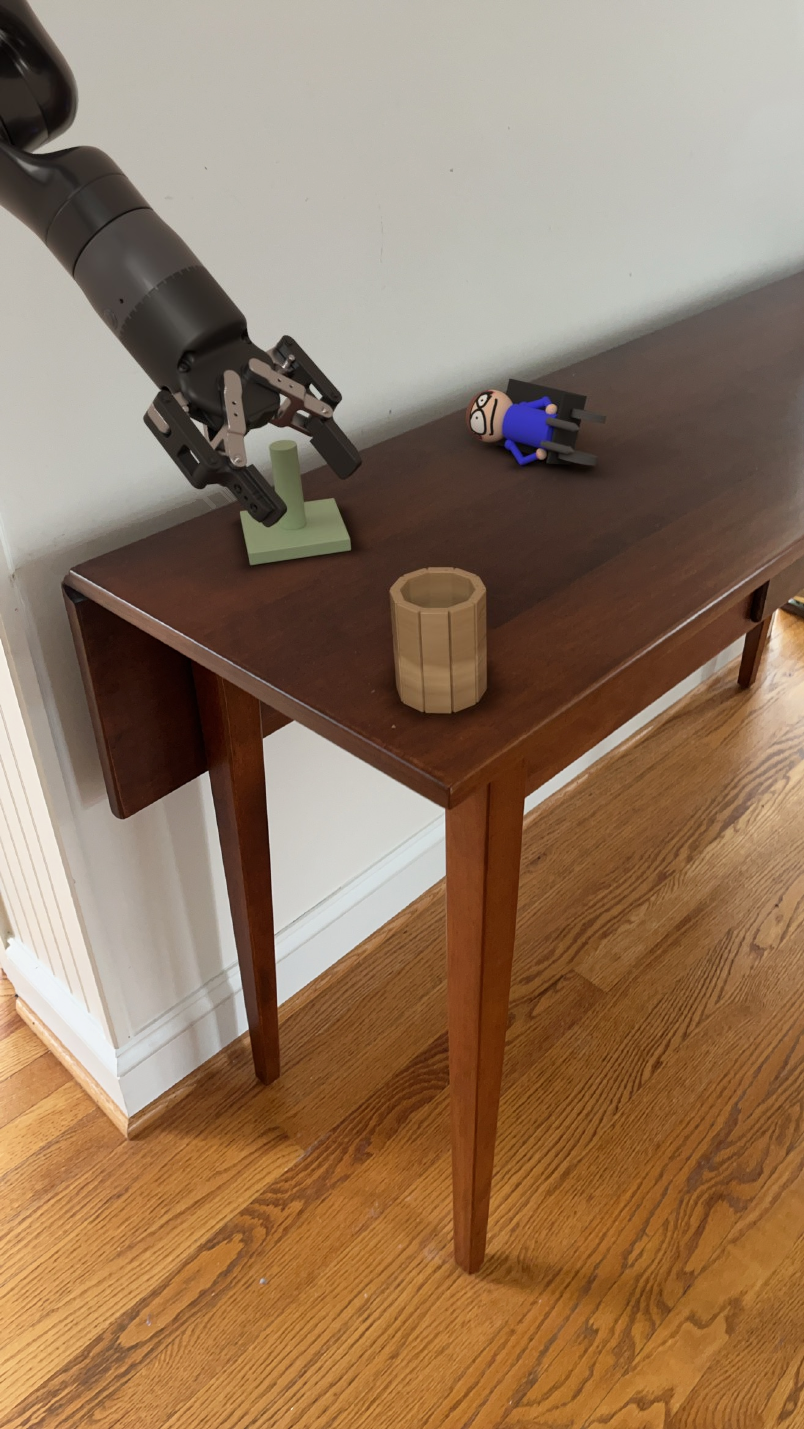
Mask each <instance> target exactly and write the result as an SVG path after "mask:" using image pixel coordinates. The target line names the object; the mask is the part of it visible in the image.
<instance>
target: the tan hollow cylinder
mask: <svg viewBox="0 0 804 1429" xmlns="http://www.w3.org/2000/svg"><path fill="white" fill-rule="evenodd" d="M389 602H390V618H391V631H392V632H391V633H392V644H393V659H394V672H395V673H394V674H395V686H396V690H397V693H398V696H399V698H400V701H401V702H402V703H403V704H404V705H406V706H408V707H410V708H412V709H415V710H417V711H418V712H420V713H424V712H425V714H452V712H453V713H457V712H460V711H462V710H465V709H468V708H470V707H473V706H475V705H477V703H479V702H480V700H481V699H482V697H483V696H484V694H485V692H486V691H487V690H488V662H487V660H488V659H487V658H488V657H487V656H488V655H487V653H488V651H487V587H486V585H485V584H484V582H483V580H482V579H481V577H480V576H479V575H477V574H475V573H473V572H471V571H467V570H464V569H461V568H459V567H456V568H454V567H453V566H450V567H449V566H446V567H445V566H444V567H443V566H437V567H435V566H434V567H433V566H432V567H431V566H429V567H427V568H426V567H424V568H419V569H417V570H414V571H411V572H408V573H405V574H403V575H402V576H399V578H397V580H396V581H395V582H394V583H393V584H392V586H390V588H389Z"/></svg>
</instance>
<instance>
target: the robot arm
mask: <svg viewBox="0 0 804 1429" xmlns="http://www.w3.org/2000/svg"><path fill="white" fill-rule="evenodd" d="M79 98H80V97H79V87H78V84H77V79H76V77H75V75H74V72H73V70H72V68H71V66H70V64H69V63H68V61H67V59H66V58H65V56H64V54H63V53H62V52H61V50H60V48H59V47H58V46H57V44H56V42H55V40H53V38H52V37H51V35H50V34H49V33H48V31H47V29H46V28H45V27H44V25H43V24H42V22H41V21H40V20H39V18H38V16H37V14H36V12H35V10H33V9H32V6H31V5H30V3H29V1H28V0H0V206H1V207H2V208H3V209H5V210H6V211H7V212H9V213H10V214H11V215H12V216H14V217H15V218H16V219H17V220H18V221H20V222H21V223H22V224H23V225H24V226H25V227H27V228H28V229H29V230H30V231H31V232H33V233H34V234H35V236H36V237H37V238H38V239H39V240H40V241H41V242H42V243H43V244H44V246H45V247H46V248H47V250H49V252H50V253H51V254H52V255H53V257H54V258H55V259H56V260H57V261H58V262H59V264H60V265H61V266H62V267H63V269H64V270H65V271H66V272H67V273H68V275H69V276H70V277H71V278H72V280H73V281H74V282H75V283H76V284H77V286H78V287H79V289H80V290H81V291H82V293H83V295H84V296H85V298H86V299H87V301H88V303H89V304H90V305H91V308H93V310H94V312H95V313H96V314H97V316H98V317H99V318H100V319H101V321H102V322H103V323H104V324H105V326H106V327H107V328H108V329H109V330H110V332H111V333H112V334H113V335H114V336H115V338H116V339H117V341H119V342H120V344H121V345H122V347H124V348H125V350H126V351H127V352H128V353H129V354H130V356H131V357H132V358H133V360H134V361H135V362H136V363H137V365H138V366H139V367H140V368H141V369H142V370H143V372H144V373H145V374H146V375H147V376H148V378H149V379H150V380H151V381H152V382H153V384H154V385H155V386H156V388H158V390H159V391H158V392H157V394H156V395H155V396H154V399H153V400H152V401H151V403H150V405H149V406H148V408H147V410H146V412H145V413H144V415H143V417H142V420H143V423H144V424H145V426H146V427H147V428H148V429H149V431H150V432H151V434H152V435H153V437H154V438H155V439H156V440H157V441H158V443H159V444H160V446H161V447H162V449H163V450H164V451H165V452H166V453H167V455H168V456H169V457H170V460H172V461H173V463H174V464H175V466H176V467H177V468H178V469H179V471H181V473H182V475H183V476H184V477H185V479H186V480H187V481H188V483H189V484H190V485H191V487H193V488H194V489H197V490H204V489H206V487H207V486H209V485H211V486H212V485H219V486H220V487H222V488H223V487H224V488H227V489H228V490H229V492H230V493H231V494H232V495H233V496H234V497H235V499H236V500H237V501H238V502H239V504H240V505H241V506H242V507H243V509H244V510H245V511H248V513H249V514H250V515H251V517H252V518H253V519H255V520H256V521H257V522H259V523H262V524H263V525H264V526H265V527H268V528H269V527H271V526H273V525H274V524H276V523H277V522H278V521H279V520H280V519H281V518H282V517H283V516H284V515H285V513H286V512H287V506H286V504H285V502H284V501H283V500H282V499H281V498H280V496H279V495H278V494H277V493H276V491H275V488H274V487H273V486H272V485H271V484H270V483H269V481H268V480H267V479H266V478H265V476H264V475H263V474H262V473H261V472H260V471H259V470H258V468H257V467H256V466H255V465H254V464H253V463H251V464H249V465H248V466H247V463H248V459H247V452H246V446H245V437H246V436H247V435H248V434H249V432H250V431H252V430H257V429H262V428H263V427H265V426H267V425H268V424H270V425H272V426H275V427H276V428H281V429H284V428H291V429H293V430H294V431H297V432H299V433H301V434H302V435H304V436H307V437H309V438H311V439H309V443H310V445H312V446H313V448H314V449H315V450H316V451H317V452H318V454H319V455H320V457H322V459H323V460H324V461H325V462H326V464H327V465H328V466H329V468H330V469H331V470H332V471H333V473H334V474H335V475H336V476H337V477H338V478H339V479H340V480H346V479H348V478H350V477H351V476H352V475H353V474H354V473H356V472H357V470H358V469H359V468H360V467H361V466H362V464H363V459H362V457H361V455H360V452H359V450H358V448H357V447H356V446H355V445H354V443H352V441H351V439H349V437H348V436H347V435H346V433H345V432H344V431H343V429H342V428H341V427H340V426H339V424H337V422H336V421H335V419H334V412H335V410H336V409H337V407H338V405H339V404H340V403H341V402H342V400H343V395H342V393H341V392H340V390H339V389H338V388H337V387H336V386H335V385H334V383H333V382H331V380H330V379H329V378H328V377H327V375H326V374H325V373H324V372H323V371H322V370H321V368H320V367H319V366H318V365H317V364H316V362H314V360H313V359H312V358H311V357H310V355H308V353H307V352H306V351H305V350H304V349H303V348H302V347H301V346H300V344H299V343H298V342H297V341H296V340H295V339H294V337H292V336H291V335H289V334H283V336H281V338H280V339H279V341H278V342H276V344H275V345H274V346H273V347H271V348H270V349H268V350H266V351H265V350H264V349H262V348H260V347H259V346H258V345H256V344H255V343H254V342H253V341H252V339H251V338H250V335H249V331H248V321H247V318H246V316H245V314H244V313H243V312H242V311H241V309H240V308H239V307H238V306H237V304H236V303H235V302H234V300H232V298H231V297H230V296H229V294H228V293H227V292H226V291H225V289H224V288H223V287H222V286H221V285H220V283H219V282H218V281H217V280H216V279H215V277H214V276H213V275H212V273H211V272H210V271H209V270H208V268H207V267H206V266H205V265H204V263H202V261H201V260H200V258H198V256H197V255H196V253H194V251H193V250H192V248H190V246H189V245H188V244H187V242H186V241H184V239H183V238H182V237H181V235H179V234H178V233H177V231H175V230H174V229H173V228H172V227H171V226H170V225H169V224H168V223H167V222H166V221H164V219H162V218H161V216H160V215H159V214H158V213H157V212H156V211H155V210H154V208H153V207H152V205H150V203H149V202H148V201H147V199H146V198H145V197H144V195H143V194H141V192H140V191H139V190H138V188H137V187H136V185H135V184H133V182H132V181H131V180H130V178H129V177H128V176H127V175H126V173H125V172H124V171H123V169H122V168H121V167H120V166H119V165H118V164H117V163H116V161H115V160H114V159H113V158H112V157H111V156H110V155H109V154H108V153H107V152H105V151H104V150H102V149H100V148H99V147H96V146H93V145H76V146H72V147H67V148H62V149H60V150H54V151H51V152H44V153H35V152H36V151H38V150H40V149H42V148H43V147H44V146H47V145H48V144H50V143H51V142H53V141H55V140H56V139H58V138H60V137H61V136H62V135H64V134H66V133H67V132H68V130H70V128H71V127H72V126H73V124H74V123H75V120H76V117H77V114H78V110H79V100H80V99H79ZM311 385H312V386H313V387H314V388H315V389H316V391H317V392H318V393H319V394H320V396H321V397H320V398H318V397H317V396H316V395H315V393H314V392H312V390H311V388H310V386H311ZM281 396H284V397H285V400H284V401H283V402H282V404H281V401H282V400H281ZM300 411H303V412H304V413H306V414H308V416H305V414H302V413H299V412H300ZM193 420H194V421H196V422H198V423H200V424H202V428H203V429H202V430H203V432H201V430H200V429H199V428H198V426H197V425H196V424H195V422H194V421H193Z"/></svg>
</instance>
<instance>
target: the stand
mask: <svg viewBox="0 0 804 1429" xmlns="http://www.w3.org/2000/svg"><path fill="white" fill-rule="evenodd" d="M268 449H269V450H268V451H269V456H270V461H271V463H270V464H271V471H272V479H273V483H274V484H273V485H274V490H275V491H276V493H277V494H278V495H279V496H280V498H281V499H282V500H283V501H284V502H285V504H286V506H287V512H286V513H285V515H284V516H283V517H282V518H281V519H280V520H279V521H278V522H277V523H276V524H274V525H273V526H271V527H269V528H268V527H265V526H264V525H263V524H262V523H259V522H257V521H256V520H255V519H253V518H252V517H251V515H250V514H249V513H248V511H246V510H240V511H239V515H240V522H241V528H242V532H243V538H244V542H245V546H246V550H247V556H248V562H249V565H250V566H255V565H262V564H268V563H276V562H282V561H289V560H295V559H301V558H309V557H316V556H322V555H329V554H334V553H335V554H336V553H342V552H348V551H351V550H352V544H351V537H350V535H349V532H348V530H347V526H346V524H345V523H344V520H343V517H342V515H341V513H340V512H341V511H340V510H339V507H338V504H337V502H336V499H335V498H334V497H331V498H324V499H316V500H310V501H309V500H308V501H304V493H303V485H302V476H301V467H300V460H299V451H298V443H297V442H296V441H294V440H292V439H280V440H276V441H273V442H271V443H270V444H269V446H268Z"/></svg>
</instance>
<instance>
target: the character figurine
mask: <svg viewBox="0 0 804 1429" xmlns="http://www.w3.org/2000/svg"><path fill="white" fill-rule="evenodd" d="M587 398H588V397H587V395H584V394H579V393H575V392H570V391H566V390H563V389H557V388H553V387H549V386H545V385H540V384H536V383H532V382H528V381H524V380H520V379H519V380H518V379H514V378H510V377H509V378H508V382H507V387H506V391H505V393H504V392H502V391H500V390H497V389H486V390H482V391H480V392H479V393H477V394H475V395H474V396H473V397H472V398H471V399H470V401H469V403H468V405H467V408H466V411H465V423H466V427H467V429H468V431H469V432H470V434H471V435H472V436H473V437H474V438H475V439H476V440H479V441H481V442H483V443H495V445H496V446H501V447H503V448H505V449H506V450H508V451H510V452H511V453H512V455H513V456H514V458H515V460H516V461H517V463H518V464H519V465H520V466H526V465H527V464H529V463H532V462H535V461H537V460H542V461H543V460H545V459H546V464H551V465H571V464H572V463H575V464H579V465H584V466H585V465H586V466H596V465H597V461H598V455H595V454H592V453H589V452H585V451H580V450H576V449H575V447H576V443H577V439H578V435H579V431H580V430H581V423H582V421H586V422H590V423H591V422H592V423H597V424H606V419H607V415H606V414H603V413H599V412H594V411H590V410H585V407H586V403H587ZM522 453H525V454H529V455H526V456H523V454H522Z"/></svg>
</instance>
